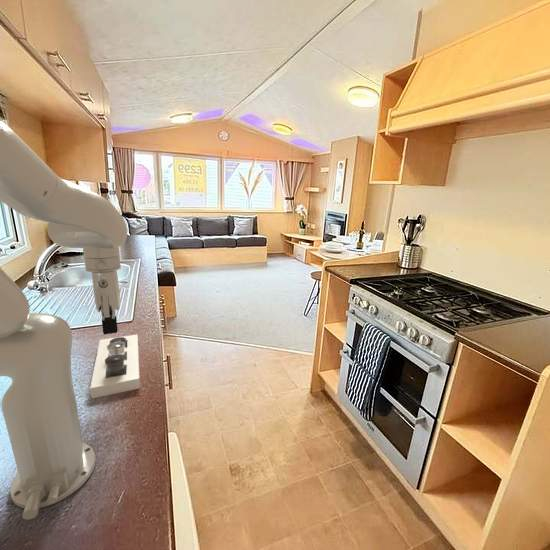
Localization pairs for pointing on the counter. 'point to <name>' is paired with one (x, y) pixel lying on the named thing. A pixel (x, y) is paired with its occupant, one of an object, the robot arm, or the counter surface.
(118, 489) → the counter surface
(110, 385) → the panel
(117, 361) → the knob near
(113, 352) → the knob middle
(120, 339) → the knob far
